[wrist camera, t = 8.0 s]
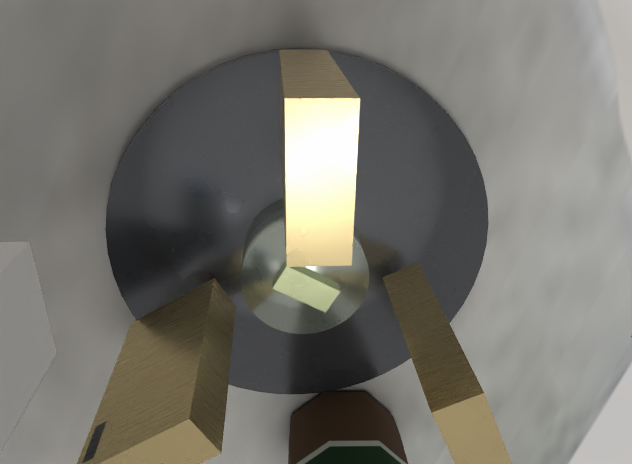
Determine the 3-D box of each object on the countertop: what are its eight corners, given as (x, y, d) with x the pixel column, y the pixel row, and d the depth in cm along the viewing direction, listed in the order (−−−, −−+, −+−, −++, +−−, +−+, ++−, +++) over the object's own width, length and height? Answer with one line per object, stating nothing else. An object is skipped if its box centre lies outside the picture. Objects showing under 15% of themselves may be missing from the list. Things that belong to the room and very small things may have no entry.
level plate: (55, 304, 32) (17, 364, 27) (216, -42, 24) (203, -44, 20) (356, 424, 38) (368, 490, 33) (556, 173, 30) (610, 212, 26)
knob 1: (214, 278, 30) (189, 418, 21) (236, 306, 31) (221, 453, 22) (132, 322, 31) (71, 477, 22) (155, 348, 32) (107, 507, 22)
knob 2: (324, 164, 28) (351, 265, 18) (280, 164, 28) (286, 266, 18) (326, 49, 25) (360, 98, 16) (279, 49, 25) (284, 98, 16)
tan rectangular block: (382, 277, 31) (431, 412, 22) (418, 262, 31) (484, 393, 21) (414, 347, 33) (470, 497, 24) (447, 334, 33) (518, 480, 24)
